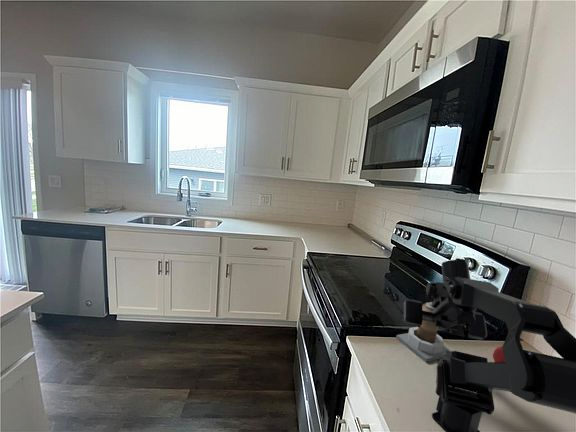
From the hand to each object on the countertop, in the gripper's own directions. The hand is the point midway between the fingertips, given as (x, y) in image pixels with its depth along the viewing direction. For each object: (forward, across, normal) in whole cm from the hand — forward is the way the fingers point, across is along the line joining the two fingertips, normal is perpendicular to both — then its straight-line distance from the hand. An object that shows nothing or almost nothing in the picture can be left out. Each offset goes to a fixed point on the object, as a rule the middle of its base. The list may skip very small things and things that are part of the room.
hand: (432, 327), depth 77 cm
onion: (+6, -20, +6) cm, 21 cm away
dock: (+8, 0, +3) cm, 9 cm away
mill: (+8, 0, +3) cm, 8 cm away
